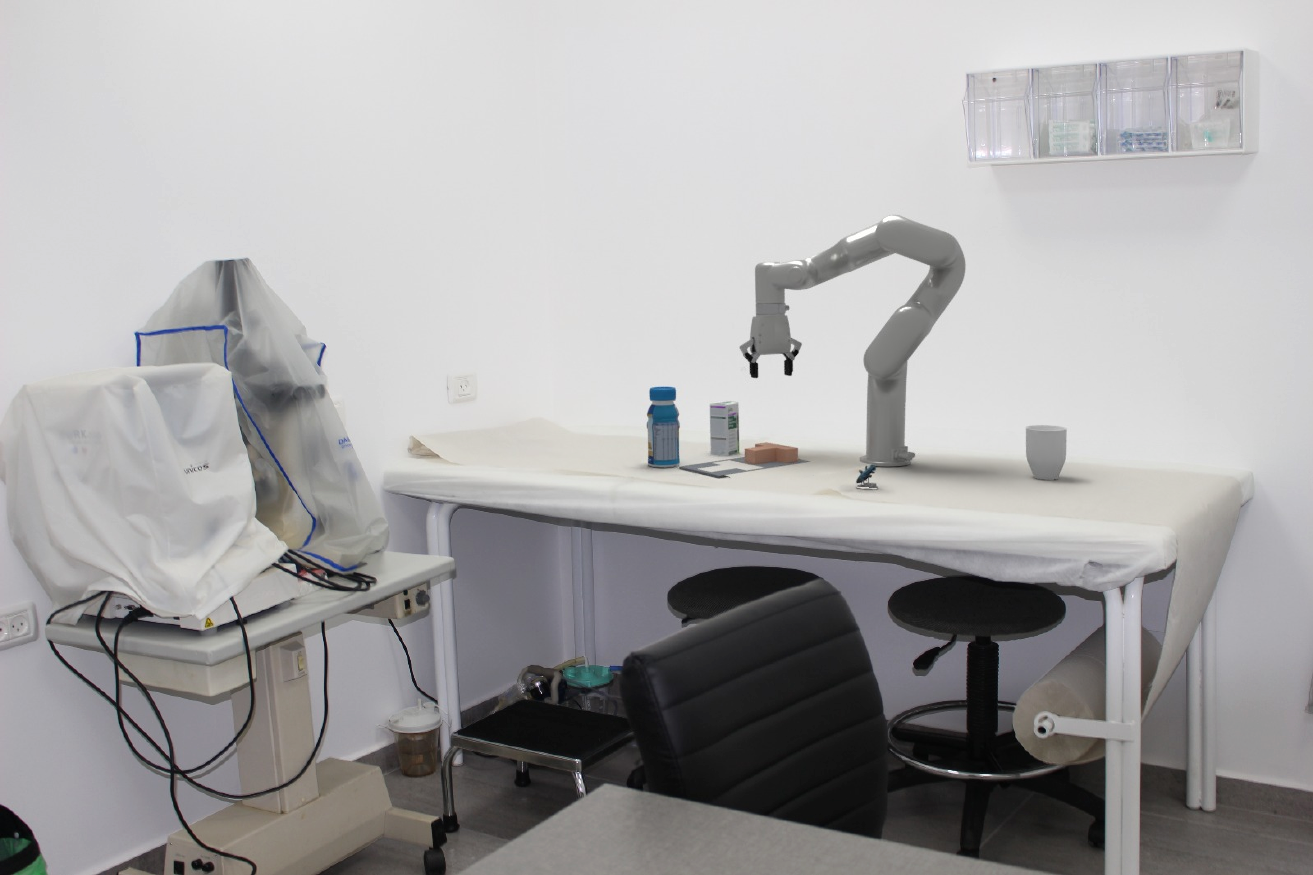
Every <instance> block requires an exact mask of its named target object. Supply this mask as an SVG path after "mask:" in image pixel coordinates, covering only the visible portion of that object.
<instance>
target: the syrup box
mask: <svg viewBox="0 0 1313 875" xmlns="http://www.w3.org/2000/svg"><path fill="white" fill-rule="evenodd" d="M739 408H740V407H739V402H738V401H731V400H730V401H727V400H726V401H725V400H721V401H718V402H712V403H710V404H709V433H710V437H709V438H710V455H713V456H723V457H730V456H734V455H737V454H740V420H739V419H740V416H739V413H740V412H739V410H740V409H739Z"/></svg>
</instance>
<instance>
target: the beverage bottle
mask: <svg viewBox="0 0 1313 875" xmlns="http://www.w3.org/2000/svg"><path fill="white" fill-rule="evenodd" d="M676 399H677V389H676V387H674V386H654V387H650V388H649V400H650V402H651V404H650V406H649V407H648V409H647V413H646V416H647V418H648V419H647V422H646V429H647V450H648V452H647V464H648V466H649V467H652V468H657V467H669V468H674V467H675V468H676V467H679V465H680V460H681V459H680V427H681V426H680V425H681V423H680V420H679V416H680V411H679V409H678V408H677V405H676V404H675V403H674V402H675V401H676Z"/></svg>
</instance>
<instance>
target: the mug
mask: <svg viewBox="0 0 1313 875" xmlns="http://www.w3.org/2000/svg"><path fill="white" fill-rule="evenodd" d="M1067 429H1068V428H1066V427H1064V426H1058V425H1047V424H1046V425H1044V424H1043V425H1041V424H1040V425H1039V424H1038V425H1037V424H1036V425H1029V426H1026V427H1025V455H1026V456H1025V457H1026V461H1027V463H1028V466H1029V468H1030V470H1031V472H1032V476H1033V477H1035V478H1034V479H1036V478H1037V480H1041V479H1044V481H1054V479H1056V480H1058V479H1057V478H1059V476H1060V475H1061V472H1062V470H1063V467H1064V465H1065V463H1066V457H1067Z"/></svg>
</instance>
